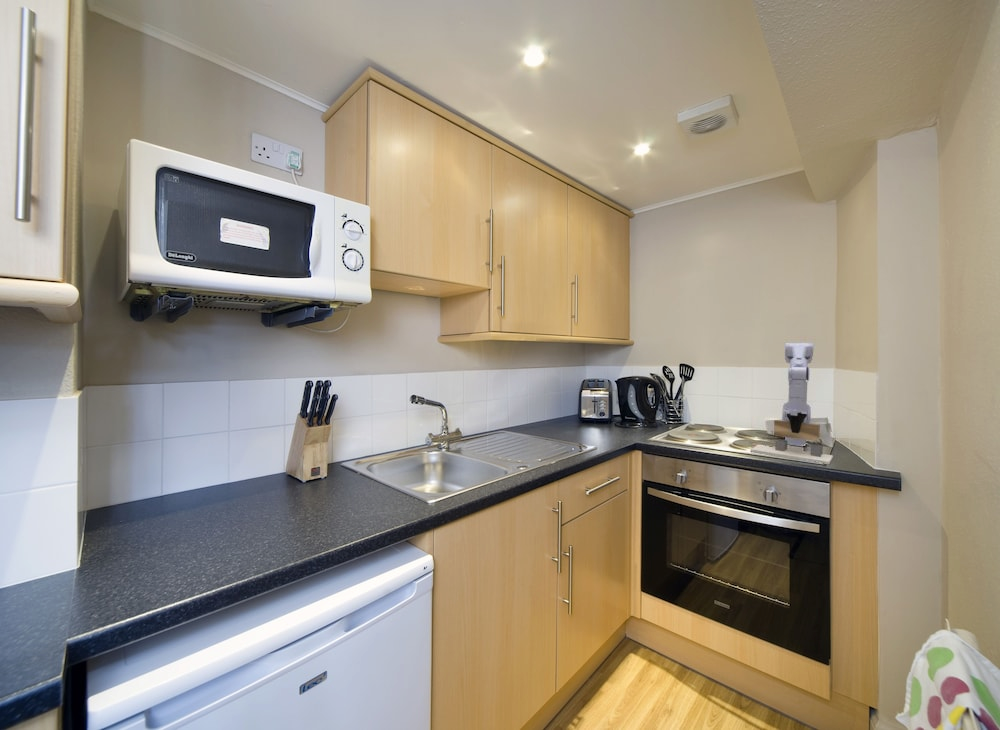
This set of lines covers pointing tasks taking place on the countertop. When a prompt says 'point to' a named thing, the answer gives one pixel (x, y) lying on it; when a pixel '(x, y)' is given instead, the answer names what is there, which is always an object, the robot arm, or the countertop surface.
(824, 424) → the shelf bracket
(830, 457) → the board
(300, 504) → the countertop surface
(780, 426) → the door panel
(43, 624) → the countertop surface
